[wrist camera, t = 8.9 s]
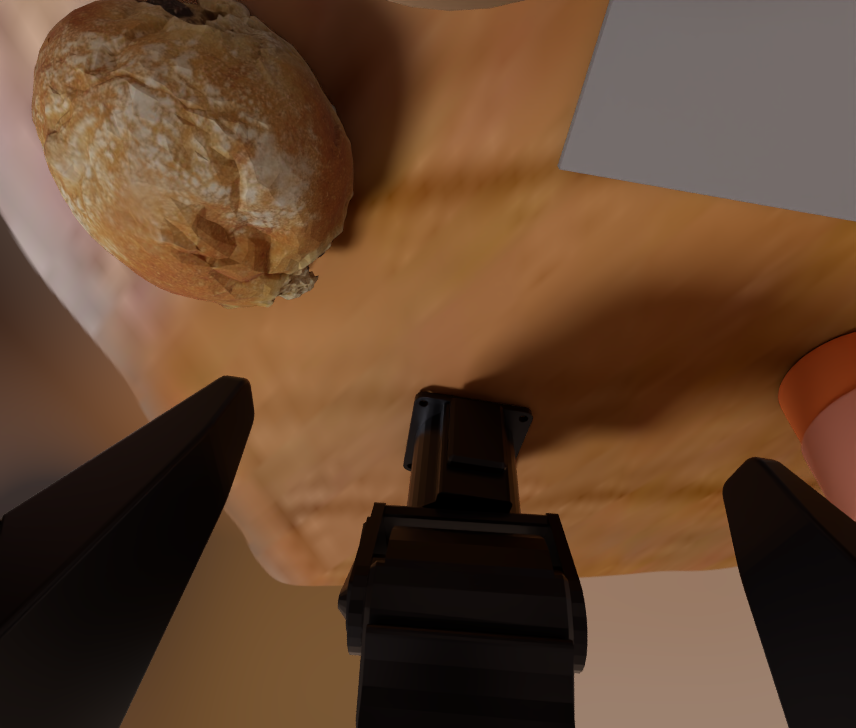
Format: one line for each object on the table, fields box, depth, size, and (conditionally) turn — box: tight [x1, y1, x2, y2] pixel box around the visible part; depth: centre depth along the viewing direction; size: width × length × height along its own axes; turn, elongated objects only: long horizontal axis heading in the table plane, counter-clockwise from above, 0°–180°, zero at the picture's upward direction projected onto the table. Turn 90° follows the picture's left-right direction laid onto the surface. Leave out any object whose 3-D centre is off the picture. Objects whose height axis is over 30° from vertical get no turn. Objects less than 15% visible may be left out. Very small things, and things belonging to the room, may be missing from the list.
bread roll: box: [32, 0, 354, 309], centre depth 16 cm, size 10×10×8 cm
